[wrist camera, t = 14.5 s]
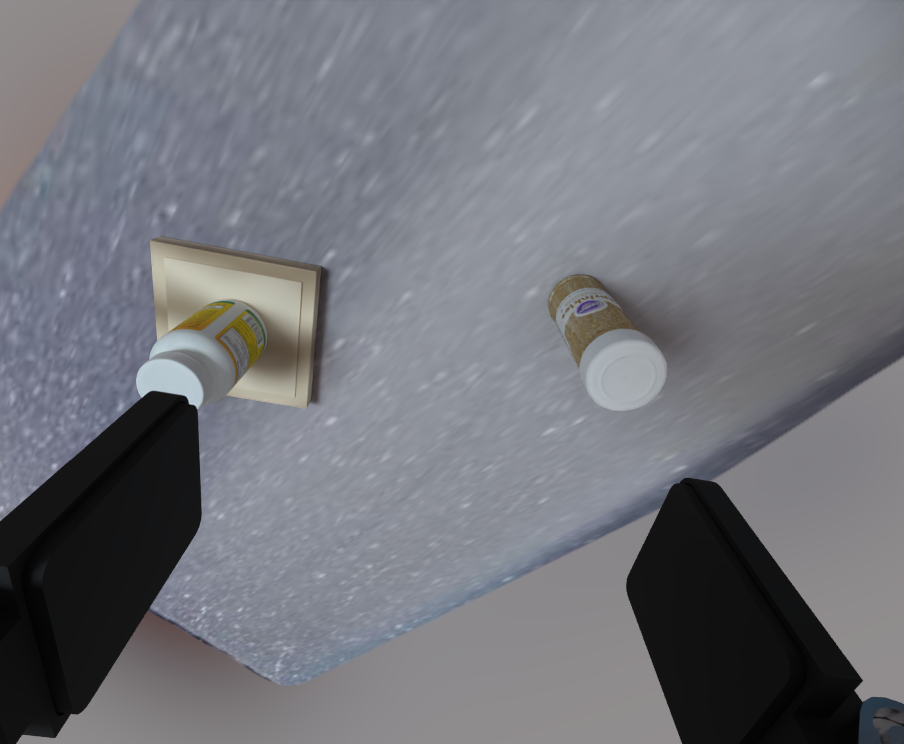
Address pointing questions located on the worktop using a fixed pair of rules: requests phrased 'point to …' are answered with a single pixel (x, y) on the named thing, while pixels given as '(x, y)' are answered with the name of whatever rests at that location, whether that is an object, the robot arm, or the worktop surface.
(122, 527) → the robot arm
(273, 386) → the cream square tray
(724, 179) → the worktop surface
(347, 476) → the worktop surface
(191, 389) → the supplement bottle
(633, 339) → the sprinkles bottle
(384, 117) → the worktop surface
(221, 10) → the worktop surface
